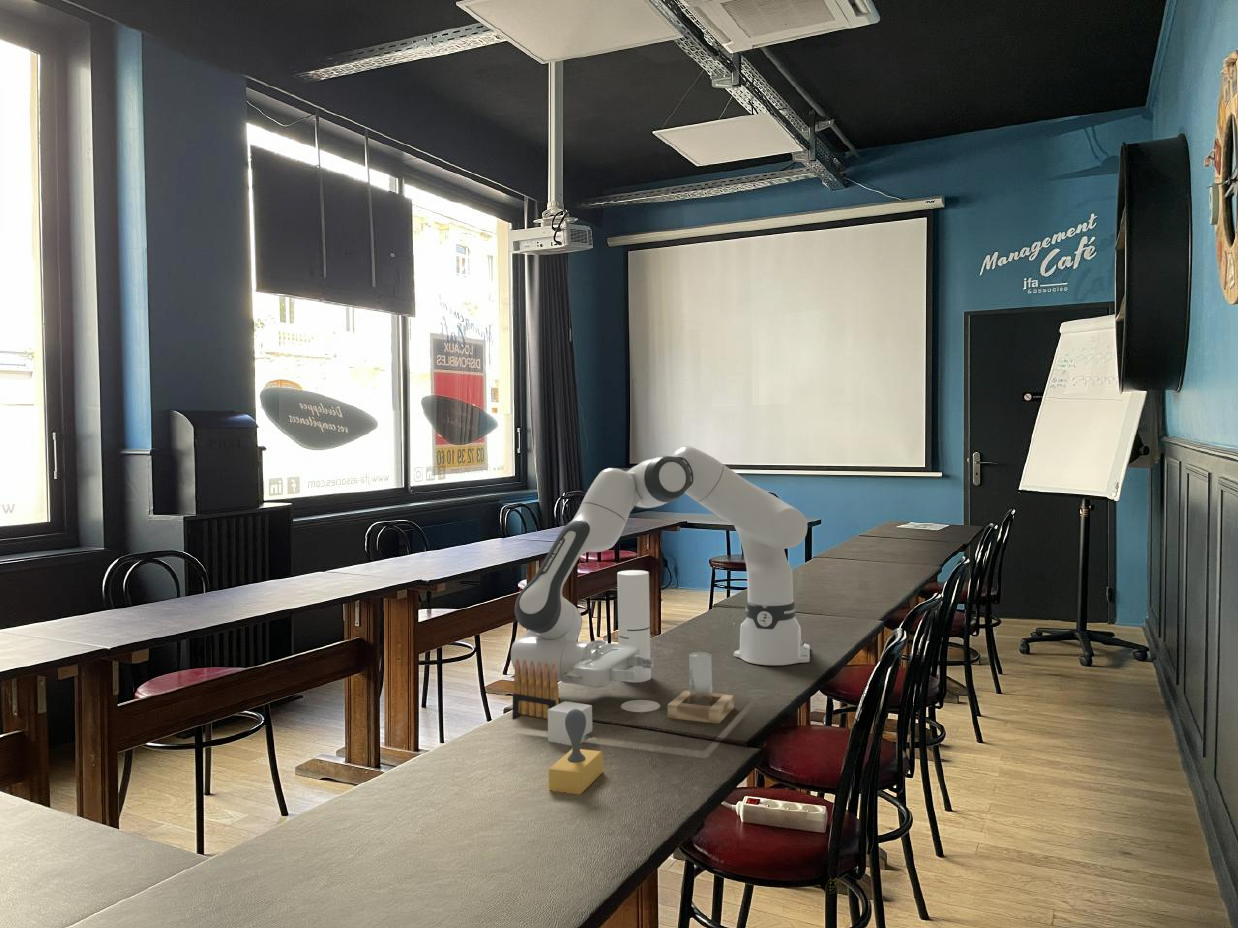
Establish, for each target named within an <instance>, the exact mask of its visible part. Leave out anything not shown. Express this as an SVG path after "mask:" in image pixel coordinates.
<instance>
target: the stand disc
mask: <svg viewBox="0 0 1238 928" xmlns="http://www.w3.org/2000/svg"><path fill="white" fill-rule="evenodd" d="M620 708H621V709H622V710H625V711H626V712H633V713H646V712H647V713H648V712H649V713H650V712H653V711H656V710H659V708H661V704H660V703H659V702H657V701H653V700H650V699H649V700H647V699H635V700H629V701H625V702H624V703H622V704H621V705H620Z"/></svg>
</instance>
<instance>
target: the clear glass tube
mask: <svg viewBox="0 0 1238 928" xmlns="http://www.w3.org/2000/svg"><path fill="white" fill-rule="evenodd" d="M688 656H689V657H688V662H689V663H688V664H689V691H690V704H695V705H704V706H712V693H713V673H712V672H713V671H712V670H713V669H712V668H713V666H712V665H713V662H712V657H713V655H712V654H711V653H710V652H704V651H703V652H702V651H699V652H698V651H697V652H692V653H689V655H688Z"/></svg>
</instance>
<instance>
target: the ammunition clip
mask: <svg viewBox="0 0 1238 928" xmlns="http://www.w3.org/2000/svg"><path fill="white" fill-rule="evenodd" d="M559 694H560V693H559V684H558V680H557V671H556V667H555V664H553V665H552V669H551V681H550V673H549V667H548V664H547V663H546V664H545V667H544V677H543V676H542V667H541V664H540V662H538V665H537V670H536V677H535V667H534V663H533V661H531V663H530V668H529V678H528V668H527V663H526V661H525V660H524V661H523V665H522V676H521V668H520V663H519V660H518V659H517V660H516V663H515V669H514V678H513V693H512V719H513V720H516V719H518V718H520V717H522V716H525V717H530V718H535V719H542V720H545V721H546V720H547V721H548V709H550V708H552V707H554V706H556V705H558V704H560V703H561V698H560V696H559Z"/></svg>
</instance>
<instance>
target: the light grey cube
mask: <svg viewBox="0 0 1238 928" xmlns="http://www.w3.org/2000/svg"><path fill="white" fill-rule="evenodd" d="M573 709H578V710H581V711H582V712H583V713H584V715H585V717H586V727H585V731H584V734H583V737H582V740H581V744H583V743H584V742H585V741H587V740H589V739H590V738H592V737H593V735H588V734H589V733H592V732H593V706H592V704H585V703H579V702H572V701H565V700H564V701H563V702H560V704H558V705H556V706H554V707H552V708H550V709H548V720H547V740H548V742H550V743H555V742H556V743H555V744H560V743H561V745H566V746H571V747H572V744H571V741H570V738H569V736H568V733H567V731H566V727H565V719H566V716H567V714H568V712H569V711H571V710H573Z"/></svg>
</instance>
